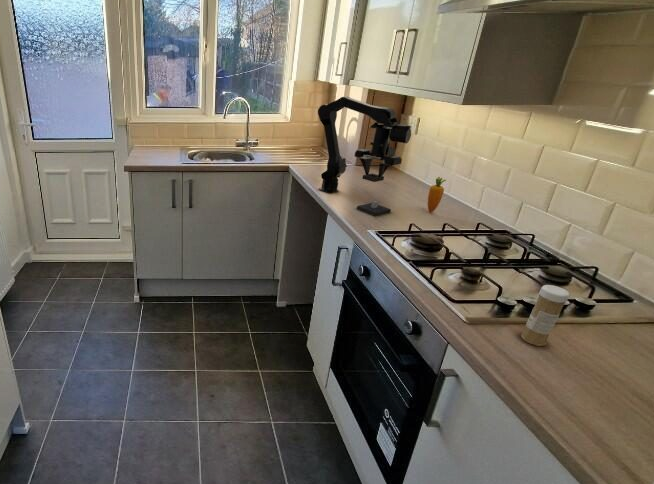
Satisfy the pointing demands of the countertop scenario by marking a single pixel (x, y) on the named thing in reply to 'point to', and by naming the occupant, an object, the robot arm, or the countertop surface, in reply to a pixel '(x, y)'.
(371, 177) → the small pad
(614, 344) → the countertop surface
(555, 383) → the countertop surface
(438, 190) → the carrot
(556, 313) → the sprinkles bottle
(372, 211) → the base pad
